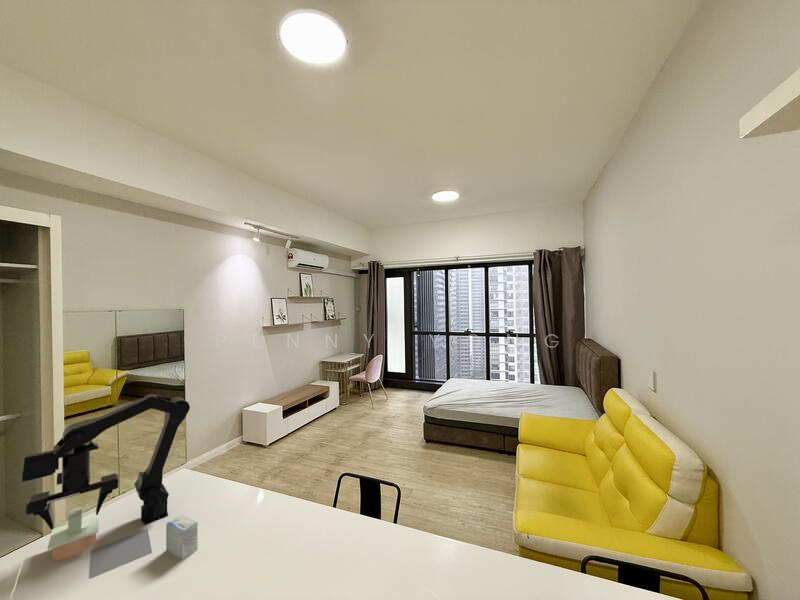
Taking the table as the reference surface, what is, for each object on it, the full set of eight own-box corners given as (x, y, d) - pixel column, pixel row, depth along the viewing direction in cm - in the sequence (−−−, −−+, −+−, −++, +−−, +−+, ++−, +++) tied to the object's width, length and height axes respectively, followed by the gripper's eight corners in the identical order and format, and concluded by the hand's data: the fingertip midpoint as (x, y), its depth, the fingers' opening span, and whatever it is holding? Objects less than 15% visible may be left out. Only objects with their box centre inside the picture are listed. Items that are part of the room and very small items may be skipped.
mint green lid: (98, 515, 101) (99, 498, 101) (98, 532, 93) (98, 513, 93) (52, 530, 94) (52, 512, 94) (47, 550, 87) (47, 529, 87)
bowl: (96, 533, 100) (96, 517, 100) (95, 549, 93) (95, 532, 94) (54, 547, 94) (54, 530, 94) (50, 566, 87) (50, 548, 87)
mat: (147, 530, 101) (147, 529, 101) (152, 554, 92) (152, 552, 92) (90, 552, 92) (90, 550, 92) (89, 580, 83) (89, 579, 83)
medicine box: (198, 551, 93) (198, 521, 93) (182, 562, 89) (182, 530, 89) (181, 542, 96) (181, 513, 97) (165, 552, 92) (165, 522, 93)
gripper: (117, 449, 106) (117, 496, 106) (32, 468, 94) (32, 522, 93) (118, 461, 98) (117, 512, 98) (25, 484, 85) (24, 543, 85)
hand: (75, 521), depth 94 cm, fingers open, 9 cm apart
